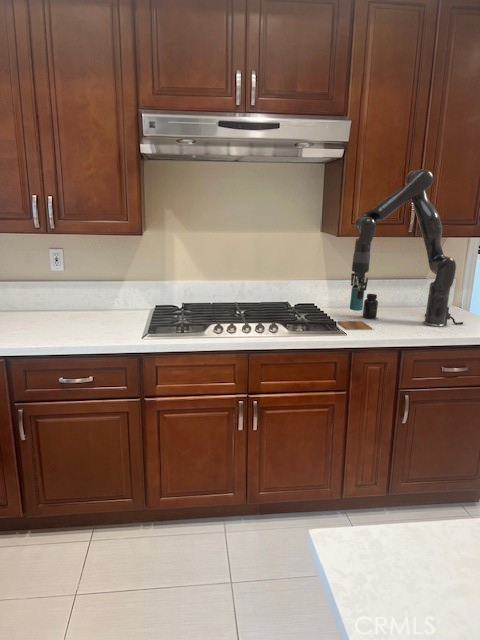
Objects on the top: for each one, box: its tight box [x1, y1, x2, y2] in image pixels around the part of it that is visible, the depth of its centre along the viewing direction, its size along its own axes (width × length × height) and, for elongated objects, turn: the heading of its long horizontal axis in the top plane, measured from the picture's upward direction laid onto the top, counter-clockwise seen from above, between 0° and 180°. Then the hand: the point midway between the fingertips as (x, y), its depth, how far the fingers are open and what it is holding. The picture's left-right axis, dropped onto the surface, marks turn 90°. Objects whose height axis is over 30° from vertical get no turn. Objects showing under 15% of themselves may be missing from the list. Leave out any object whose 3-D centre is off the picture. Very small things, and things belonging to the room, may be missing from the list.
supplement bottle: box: [362, 293, 379, 320], centre depth 234 cm, size 7×7×12 cm
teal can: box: [349, 286, 366, 312], centre depth 216 cm, size 6×6×10 cm
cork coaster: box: [337, 320, 373, 330], centre depth 219 cm, size 12×12×1 cm
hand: (357, 297), depth 216 cm, fingers closed on teal can, 5 cm apart
